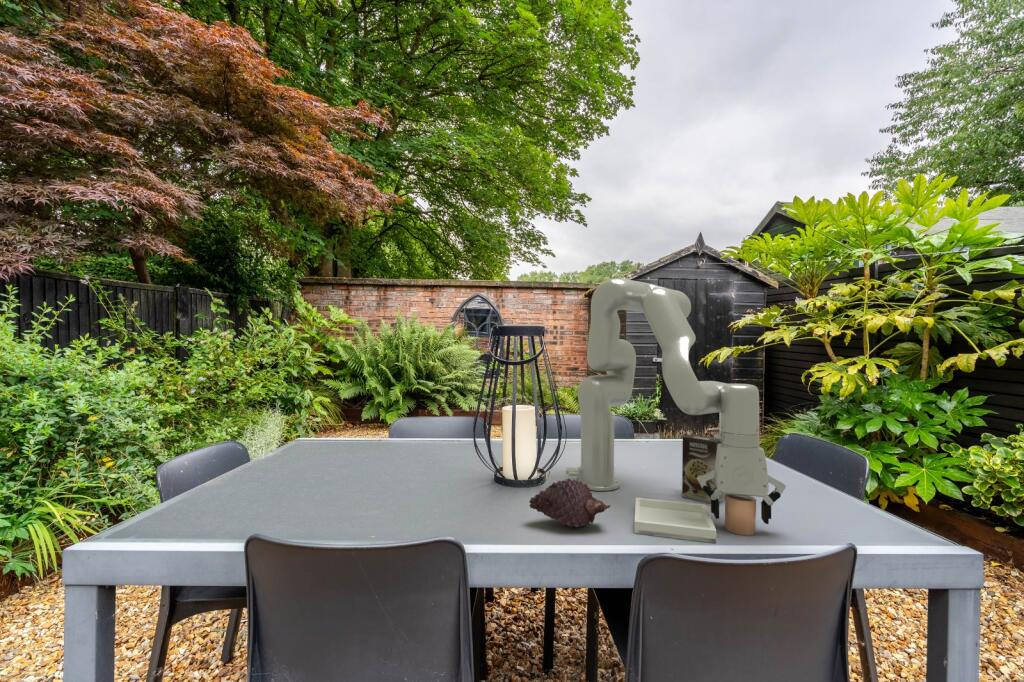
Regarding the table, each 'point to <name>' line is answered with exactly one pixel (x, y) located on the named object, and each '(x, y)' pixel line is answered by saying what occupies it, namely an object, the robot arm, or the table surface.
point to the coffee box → (698, 465)
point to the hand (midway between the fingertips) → (740, 519)
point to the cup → (740, 514)
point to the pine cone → (568, 503)
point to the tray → (674, 520)
